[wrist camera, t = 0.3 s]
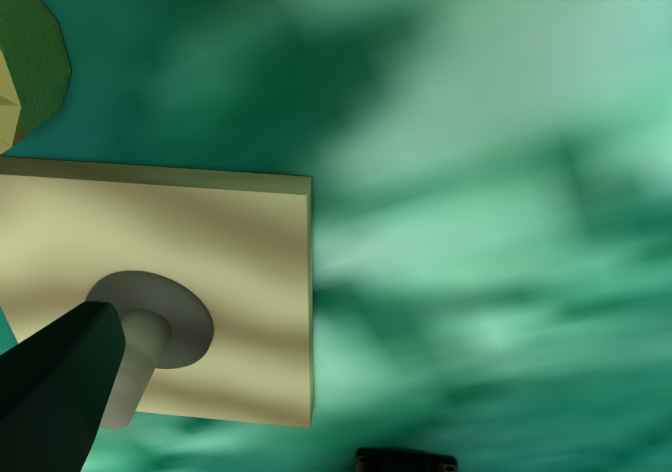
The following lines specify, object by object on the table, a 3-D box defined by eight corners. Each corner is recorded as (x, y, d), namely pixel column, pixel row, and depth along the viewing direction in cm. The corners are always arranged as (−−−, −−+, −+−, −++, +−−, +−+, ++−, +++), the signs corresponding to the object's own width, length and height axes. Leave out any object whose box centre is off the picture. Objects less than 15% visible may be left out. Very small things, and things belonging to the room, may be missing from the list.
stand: (313, 406, 32) (295, 524, 27) (60, 382, 33) (-9, 491, 28) (311, 176, 23) (282, 285, 17) (-43, 153, 24) (-179, 248, 18)
